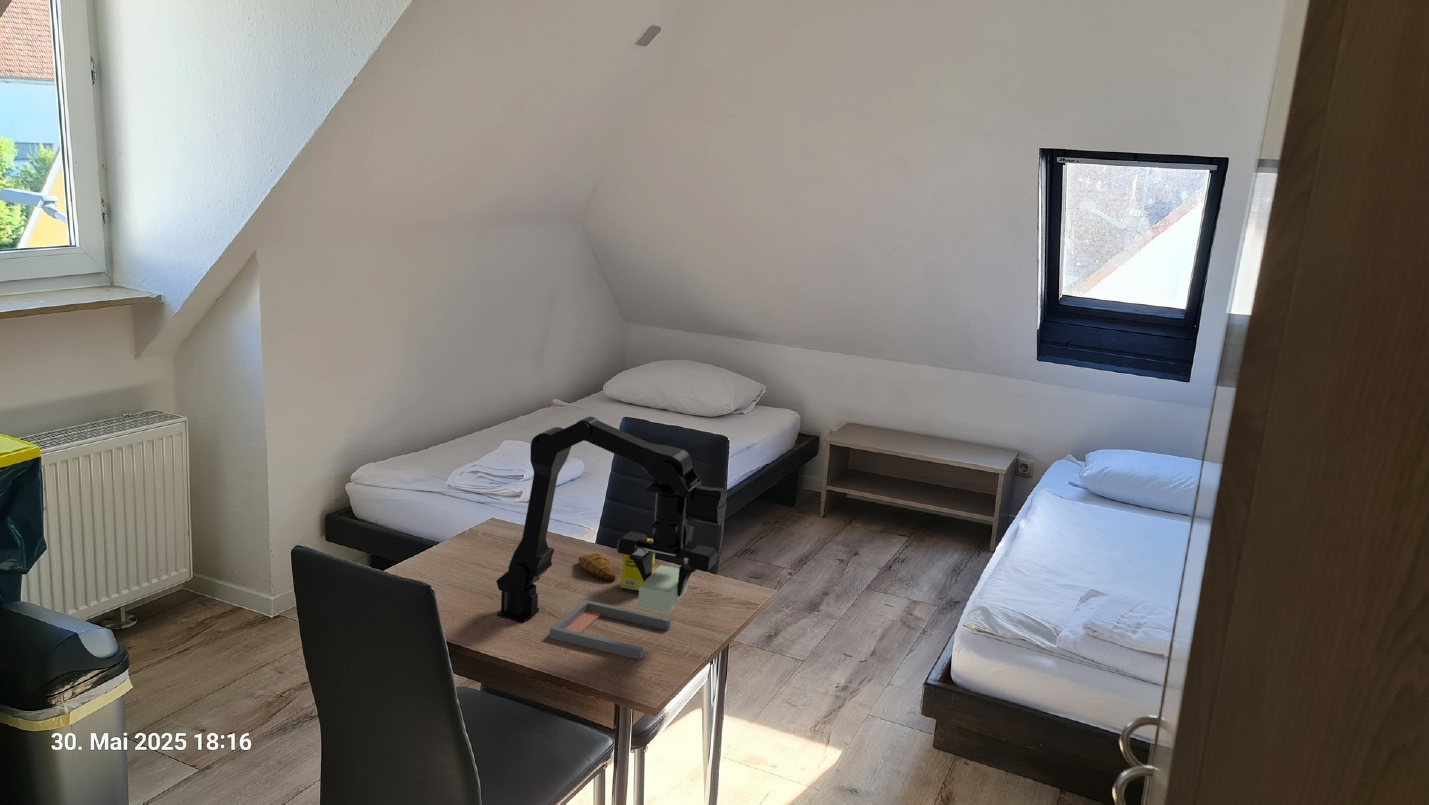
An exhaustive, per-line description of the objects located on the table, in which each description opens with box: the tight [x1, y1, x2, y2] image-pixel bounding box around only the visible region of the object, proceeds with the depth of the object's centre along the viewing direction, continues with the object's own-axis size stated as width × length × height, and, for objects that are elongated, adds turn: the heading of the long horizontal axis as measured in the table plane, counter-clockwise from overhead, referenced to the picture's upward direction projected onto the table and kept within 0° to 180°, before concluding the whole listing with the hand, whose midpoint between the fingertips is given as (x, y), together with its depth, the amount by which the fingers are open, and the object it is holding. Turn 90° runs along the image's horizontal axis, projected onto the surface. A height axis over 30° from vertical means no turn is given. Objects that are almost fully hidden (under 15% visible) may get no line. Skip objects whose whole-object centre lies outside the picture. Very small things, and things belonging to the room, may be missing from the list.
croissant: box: [578, 552, 616, 583], centre depth 225 cm, size 14×7×5 cm, turn 40°
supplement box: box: [620, 537, 656, 594], centre depth 218 cm, size 6×6×11 cm
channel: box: [548, 599, 672, 661], centre depth 196 cm, size 19×15×2 cm
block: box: [637, 564, 689, 614], centre depth 190 cm, size 6×12×4 cm, turn 164°
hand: (664, 592), depth 191 cm, fingers closed on block, 6 cm apart
